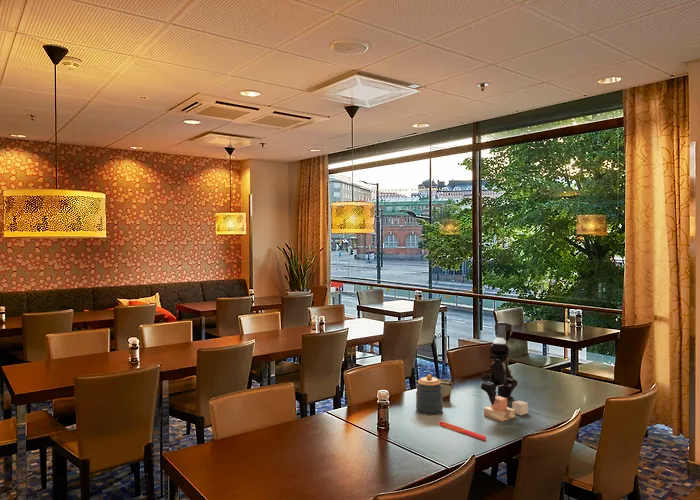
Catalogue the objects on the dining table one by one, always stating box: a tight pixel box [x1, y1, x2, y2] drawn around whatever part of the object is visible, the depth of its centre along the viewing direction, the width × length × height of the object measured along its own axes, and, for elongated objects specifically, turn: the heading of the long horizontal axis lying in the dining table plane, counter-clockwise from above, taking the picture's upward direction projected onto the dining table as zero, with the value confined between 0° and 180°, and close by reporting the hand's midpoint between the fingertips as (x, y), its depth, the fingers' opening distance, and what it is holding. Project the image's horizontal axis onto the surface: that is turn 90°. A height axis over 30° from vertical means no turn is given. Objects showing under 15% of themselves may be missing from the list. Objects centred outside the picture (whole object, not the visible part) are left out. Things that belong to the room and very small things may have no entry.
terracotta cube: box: [490, 395, 508, 411], centre depth 243 cm, size 5×5×5 cm
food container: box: [437, 378, 454, 403], centre depth 269 cm, size 12×6×10 cm, turn 84°
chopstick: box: [438, 421, 487, 441], centre depth 224 cm, size 24×2×5 cm
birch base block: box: [483, 405, 516, 422], centre depth 244 cm, size 10×10×4 cm
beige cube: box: [511, 399, 529, 416], centre depth 248 cm, size 5×5×5 cm
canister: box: [415, 373, 444, 416], centre depth 252 cm, size 13×13×18 cm
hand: (499, 402), depth 243 cm, fingers open, 9 cm apart
